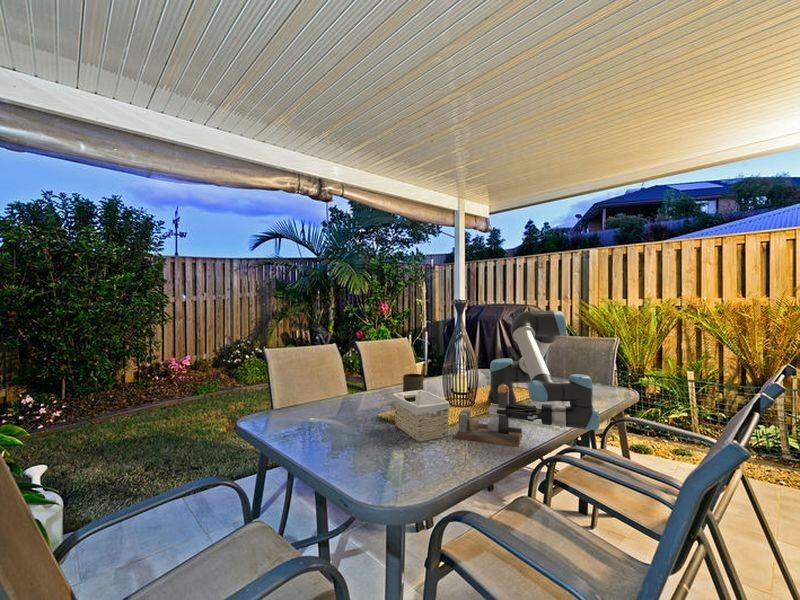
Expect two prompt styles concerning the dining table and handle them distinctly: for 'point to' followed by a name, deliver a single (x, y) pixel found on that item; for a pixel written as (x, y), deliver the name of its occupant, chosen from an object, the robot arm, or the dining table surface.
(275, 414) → the dining table surface
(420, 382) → the beer stein
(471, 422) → the tan rounded cylinder
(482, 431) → the base
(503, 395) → the handle
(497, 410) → the robot arm
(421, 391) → the storage basket
